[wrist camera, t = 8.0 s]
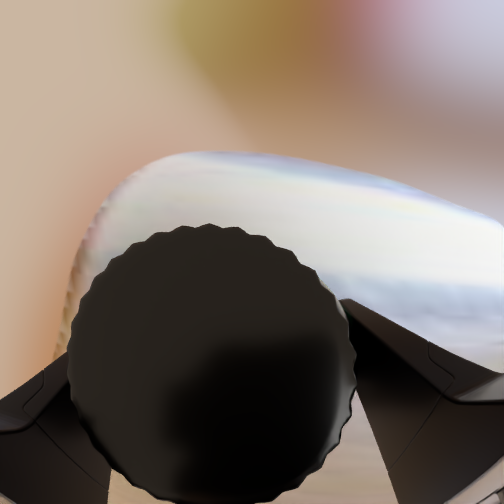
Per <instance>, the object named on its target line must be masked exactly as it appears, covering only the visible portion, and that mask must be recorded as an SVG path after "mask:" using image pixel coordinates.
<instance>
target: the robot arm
mask: <svg viewBox="0 0 504 504" xmlns="http://www.w3.org/2000/svg"><path fill="white" fill-rule="evenodd" d="M338 301H339V302H340V304H341V306H342V307H343V309H344V311H345V313H346V315H347V317H348V319H349V322H350V324H351V327H352V330H353V333H354V337H355V342H356V347H357V356H358V374H357V384H358V385H357V388H356V391H357V393H358V396H359V398H360V401H361V403H362V406H363V408H364V411H365V413H366V416H367V418H368V421H369V423H370V426H371V428H372V431H373V434H374V436H375V439H376V442H377V444H378V447H379V450H380V452H381V455H382V458H383V460H384V463H385V466H386V469H387V471H389V472H388V475H389V477H390V480H391V483H392V486H393V489H394V492H395V495H396V498H397V501H398V503H399V504H504V373H498V372H495V371H492V370H489V369H487V368H485V367H482V366H480V365H478V364H475V363H473V362H471V361H468V360H466V359H464V358H462V357H459V356H457V355H455V354H453V353H451V352H449V351H447V350H445V349H443V348H441V347H439V346H437V345H435V344H433V343H432V342H430V341H429V342H428V341H427V340H426V339H424V338H422V337H420V336H419V335H417V334H415V333H413V332H411V331H409V330H407V329H406V328H404V327H402V326H400V325H398V324H396V323H394V322H393V321H391V320H389V319H387V318H385V317H383V316H381V315H380V314H378V313H376V312H374V311H372V310H370V309H368V308H367V307H365V306H363V305H361V304H359V303H357V302H355V301H353V300H352V299H341V300H338ZM68 362H69V360H68V354H67V352H66V353H64V354H63V355H62V356H60V357H59V358H58V359H56V360H55V361H54V362H52V363H51V364H50V365H48V366H47V367H46V368H44V370H42V371H41V372H39V373H38V374H37V375H35V376H34V377H33V378H31V379H30V380H29V381H27V382H26V383H25V384H23V385H22V386H20V387H19V388H17V389H16V390H14V391H13V392H11V393H10V394H8V395H7V396H5V397H4V398H2V399H1V400H0V504H107V502H108V493H109V492H108V490H109V483H110V476H111V469H112V468H111V467H110V466H109V464H108V463H107V461H106V460H105V458H104V456H103V455H102V454H101V453H99V452H98V451H97V450H96V449H95V448H94V447H93V446H92V443H91V441H90V438H89V436H88V434H87V432H86V431H85V430H84V429H83V428H82V426H81V425H80V423H79V419H78V413H77V410H76V408H75V406H74V405H73V403H72V401H71V396H70V388H71V386H70V383H69V380H68V377H67V374H66V372H67V366H68Z"/></svg>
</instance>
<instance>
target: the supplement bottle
mask: <svg viewBox="0 0 504 504" xmlns="http://www.w3.org/2000/svg"><path fill="white" fill-rule="evenodd" d="M67 354H68V360H69V362H68V366H67V372H66V374H67V377H68V380H69V383H70V386H71V388H70V396H71V401H72V403H73V405H74V406H75V408H76V410H77V413H78V419H79V423H80V425H81V426H82V428H83V429H84V430H85V431H86V432H87V434H88V436H89V438H90V441H91V443H92V446H93V447H94V448H95V449H96V450H97V451H98V452H99V453H101V454H102V455H103V456H104V458H105V460H106V461H107V463H108V464H109V466H110V467H111V468H112V469H113V470H115V471H116V472H118V473H120V474H122V475H123V476H124V477H125V478H126V479H127V481H128V482H129V483H130V484H131V485H132V486H134V487H137V488H140V489H143V490H145V491H147V492H148V493H149V494H150V495H152V496H153V497H154V498H156V499H157V500H162V501H170V502H173V503H175V504H255V503H266V502H272V501H273V500H274V499H276V498H277V497H278V496H279V495H280V494H281V493H282V492H285V491H289V490H293V489H296V488H298V487H299V486H300V485H301V484H302V482H303V481H304V479H305V478H306V476H308V475H309V474H311V473H314V472H316V471H317V470H319V469H320V468H322V465H323V463H324V461H325V458H326V456H327V454H328V453H330V452H331V451H332V450H333V449H334V448H335V447H336V446H337V445H339V444H340V439H341V431H342V428H343V426H344V425H345V424H346V423H347V422H348V420H349V419H350V417H351V416H352V407H351V402H352V399H353V396H354V393H355V390H356V388H357V385H358V384H357V374H358V356H357V347H356V342H355V337H354V333H353V330H352V327H351V324H350V322H349V319H348V317H347V315H346V313H345V311H344V309H343V307H342V306H341V304H340V302H339V301H338V299H337V298H336V297H335V295H334V294H333V292H332V291H331V290H330V289H329V288H328V287H327V285H326V284H325V283H324V282H323V281H322V280H320V279H319V277H318V275H317V273H316V271H315V270H313V269H311V268H309V267H307V266H305V265H302V264H300V262H299V261H298V259H297V257H296V256H295V254H294V253H293V252H292V251H290V250H287V249H284V248H280V247H276V246H275V245H274V244H273V243H272V242H271V241H270V240H269V239H268V238H267V237H266V236H260V235H249V234H248V233H246V232H245V231H244V230H242V229H241V228H239V227H228V228H221V227H218V226H216V225H213V224H210V223H209V224H205V225H202V226H200V227H197V228H194V227H189V226H180V227H178V228H176V229H174V230H173V231H171V232H157V233H155V234H153V235H152V236H151V237H150V238H149V239H147V240H146V241H143V242H138V243H134V244H132V245H131V246H130V247H129V248H128V249H127V250H126V251H125V252H124V254H122V255H120V256H117V257H115V258H113V259H111V261H110V262H109V264H108V266H107V268H106V269H105V271H103V272H102V273H100V274H99V275H97V276H96V277H95V278H94V280H93V282H92V284H91V287H90V290H89V291H88V292H87V293H86V294H85V295H84V296H83V297H82V298H81V301H80V305H79V311H78V313H77V315H76V316H75V318H74V319H73V321H72V324H71V338H70V340H69V343H68V345H67Z"/></svg>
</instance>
